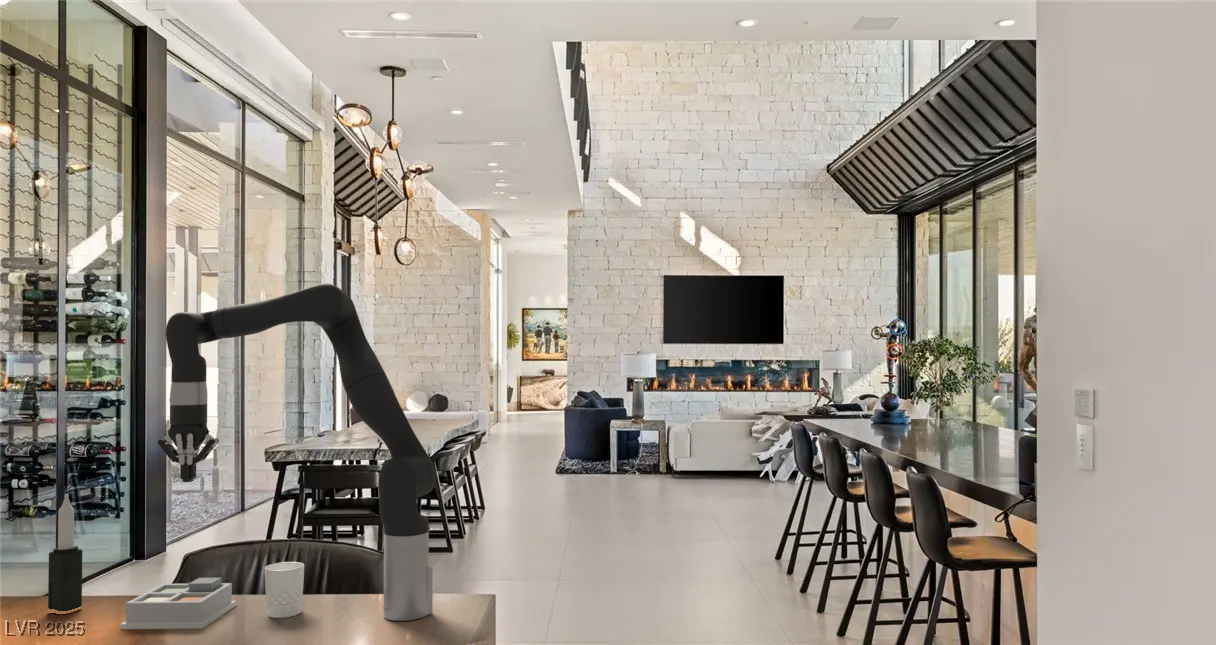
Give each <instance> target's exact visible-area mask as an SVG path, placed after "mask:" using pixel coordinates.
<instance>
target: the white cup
mask: <svg viewBox="0 0 1216 645" xmlns="http://www.w3.org/2000/svg"><path fill="white" fill-rule="evenodd" d="M304 577H305V564H304V563H303V562H300V561H282V562H275V563H271V564H268V565H265V567H264V584H265V585H264V586H265V601H266V615H267V616H268V617H269V618H272V619H283V618H284V619H285V618H286V619H287V618H291V616H292V617H295V616H297V614H298V615H299V613H300V614H301V612H302V606H303V604H302V601H303V597H304V596H303V595H304V594H303V591H304Z"/></svg>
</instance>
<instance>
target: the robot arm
mask: <svg viewBox="0 0 1216 645" xmlns="http://www.w3.org/2000/svg"><path fill="white" fill-rule="evenodd" d="M297 322H298V323H299V322H301V323H302V322H304V323H306V322H311V323H315V324H316V325H318V326H319V327H320V328H321V329H323V331H324V333H325V335H326V336H327V337H328V339H329V342H330V343H331V345H332V347H333V348H334V350H335V353H336V356H337V359H338V360H337V361H338V365H339V366H338V367H339V374H340V379H341V383H342V386H343V389H344V391H345V393H346V396H347V397H348V400H349V402H350V404H351V406H352V409H353V410H354V412H355V414H356V415H357V416H358V417H359V419H361V421H362V422H364V424H365V425H366V426H367V427H368V428H369V429H371V430H372V431H373V432H374V433H375V435H377V436H378V437H379V438H380V439H381V440H382V442H383V443H384V444H385V446H386V447H387V449H388V451H389V453H390V455H391V458H389V459H387V460H386V461H385V462H384V463H383V464H382V466H381V469H380V471H379V474H378V475H379V477H378V501H379V502H378V505H379V506H378V507H379V516H380V521H381V523H382V525H383V605H382V606H383V617H384V619H386V620H389V621H397V622H398V621H399V622H400V621H401V622H402V621H404V622H405V621H413V620H414V621H415V620H419V619H423V618H425V617H427V616H429V615H433V613H434V612H433V610H434V609H433V604H434V602H433V596H434V594H433V593H434V591H433V589H434V587H433V585H434V584H433V574H434V573H433V567H430V566H429V565H430V564H429V563H430V562H429V559H430V557H429V552H430V550H429V549H430V546H429V541H430V539H429V537H430V536H429V532H430V531H429V530H430V526H429V525H430V523H429V522H430V521H429V519H428V518H429V517H427V516H425V515H423V514H421V513H420V511H419V510H418V509H419V508H418V498H420V497H423V496H426V495H428V494H429V493H431V492H432V491H433V489H434V487H435V486H436V482H437V474H436V473H437V472H436V469H435V465H434V464H433V462H432V459H431V458H430V456H429V454H428V453H427V451H426V450H425V447H424V446H423V445H422V443H421V441H420V440H419V438H418V437H417V435H416V433H415V431H414V430H413V428H412V426H411V425H410V422H409V420H408V418H407V416H406V414H405V413H404V410H403V407H402V406H401V404H400V402H399V400H398V398H397V395H396V393H395V391H394V389H393V386H392V384H391V382H390V380H389V378H388V376H387V374H386V372H385V369H384V368H383V366H382V364H381V362H380V361H379V358H378V357H377V355H376V353H375V352H374V350H373V348H372V347H371V345H370V344H369V341H368V339H367V337H366V334H365V332H364V329H363V327H362V326H363V325H362V324H361V323H362V322H361V320H360V317H359V315H358V312H357V309H356V306H355V304H354V302H353V300H352V298H351V297H350V295H349V294H347V293H346V292H345V291H344V290H342V289H341V288H340V287H338V286H336V285H334V284H333V283H332V284H331V283H327V282H326V283H325V282H324V283H319V284H316V285H313V286H309V287H306V288H303V289H300V290H298V291H294V292H291V293H288V294H283V295H280V296H277V297H272V298H268V299H265V300H259V301H253V302H247V303H239V304H234V305H229V306H228V305H227V306H222V307H219V308H217V309H215V310H212V311H211V310H210V311H205V312H196V313H195V312H187V311H179V312H176V313H174V314H173V315H171V316H170V317H169V319H168V321H167V323H166V328H165V341H166V345H167V349H168V354H169V357H170V360H171V377H170V379H171V380H170V382H171V384H170V392H169V429H168V431H167V435H166V436H164V437H163V438H161V439H158V440H157V444H158V445H159V447H160V448H161V449H162V451H163V452H164V453H165V455H166V456H167V458H168V459H169V460H170V461H171V462H173V463H177V464H179V466H180V468H179V469H180V471H179V472H180V475H179V476H180V479H181V480H182V482H183V483H191V482H194V480H195V479H196V477H197V464H199V463H200V462H202V461H205V460H206V458H208V456H209V455H210V454H211V452H212V451H213V450H214V448H216V446H217V445H218V443H220V441H219V440H220V439H219V437H218V438H217V437H214V436H212V435H211V434H210V430H209V428H208V387H207V360H206V358H205V357H204V356H202V355H201V354H200V350H199V345H201V344H206V343H211V342H215V341H219V340H222V339H232V338H238V337H244V336H245V337H246V336H250V335H254V334H259V333H262V332H264V331H267V330H269V329H272V328H274V327H277V326H280V325H284V324H288V323H297ZM173 444H174V445H175V446H176V448H175V447H174V446H173ZM203 444H204V446H203V447H202V449H201V450H200V448H201V446H202V445H203Z"/></svg>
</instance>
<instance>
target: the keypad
mask: <svg viewBox="0 0 1216 645" xmlns="http://www.w3.org/2000/svg"><path fill="white" fill-rule="evenodd" d="M232 587H233V583H232V582H227V583H226V582H221V587H220V588H219V589H217V590H215V591H214V592H189V583H161V584H159V585H158V586H155V587H154V588H152V589H150V590H148V591H146V592H145V593H142V594H140V595H138V596H137V597H135V598H133V599H131V600H129V601H126V603H125V621H123V622H122V623H120V626H119V627H120V628H119V629H120V630H173V629H174V630H175V629H176V630H177V629H179V630H180V629H181V630H190V629H191V630H192V629H195V630H197V629H199V630H201V629H204V628H206V627H207V626H208V625H211V623H213V622H215V621H216V620H217V619H219V618H220V617H222V616H223V615H225V614H226V613H227V612H229V611H231V609H233V608H235V607H236V606H237V601H236V600H232V598H233V597H232V596H233V590H232V589H233V588H232ZM185 588H186V589H185ZM165 589H184V590H183V591H181V592H161V591H163V590H165ZM156 597H170V598H168V599H167V600H165V601H146V602H143V601H145V600H146V599H148V598H156ZM184 597H204V598H202V599H201V600H199V601H178V600H180V599H182V598H184Z"/></svg>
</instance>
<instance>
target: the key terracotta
mask: <svg viewBox="0 0 1216 645" xmlns="http://www.w3.org/2000/svg"><path fill="white" fill-rule="evenodd" d="M202 598H204V597H184V598H182V599H180V600H178V601H199V600H201V599H202Z"/></svg>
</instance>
